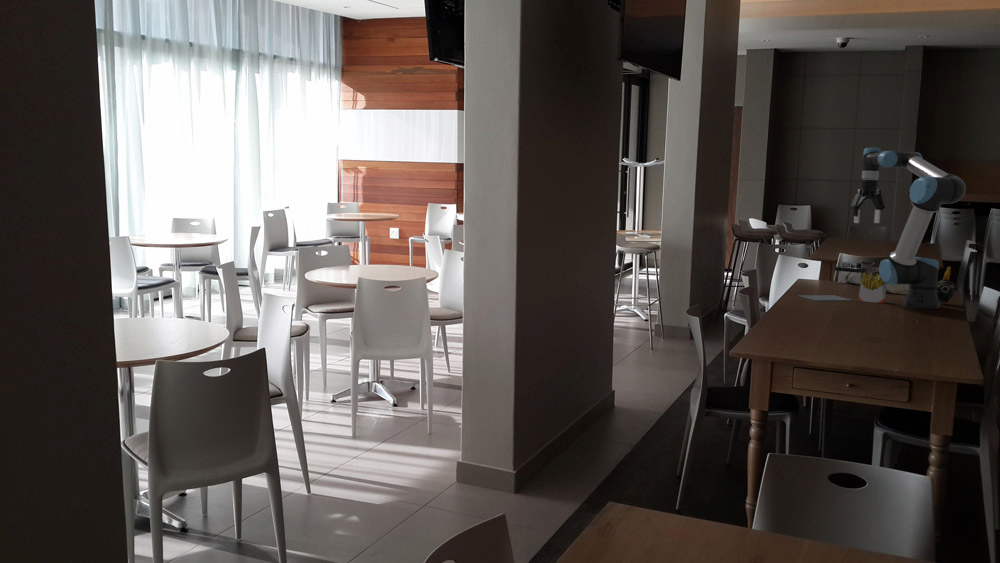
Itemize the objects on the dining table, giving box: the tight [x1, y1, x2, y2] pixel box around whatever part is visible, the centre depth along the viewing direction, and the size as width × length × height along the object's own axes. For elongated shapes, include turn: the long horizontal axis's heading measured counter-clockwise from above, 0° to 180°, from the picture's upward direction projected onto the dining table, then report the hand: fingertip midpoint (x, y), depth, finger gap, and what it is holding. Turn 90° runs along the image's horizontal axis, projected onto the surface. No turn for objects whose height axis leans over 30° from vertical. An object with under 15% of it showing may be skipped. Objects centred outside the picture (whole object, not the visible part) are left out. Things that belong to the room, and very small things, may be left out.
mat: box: [797, 294, 854, 302], centre depth 405 cm, size 16×20×1 cm
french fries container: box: [858, 272, 887, 304], centre depth 397 cm, size 5×11×18 cm, turn 51°
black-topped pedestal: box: [834, 261, 867, 285], centre depth 456 cm, size 28×26×13 cm
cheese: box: [878, 275, 909, 295], centre depth 428 cm, size 15×7×15 cm
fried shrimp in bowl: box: [937, 266, 956, 304], centre depth 398 cm, size 9×11×18 cm
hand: (866, 223), depth 412 cm, fingers open, 13 cm apart
